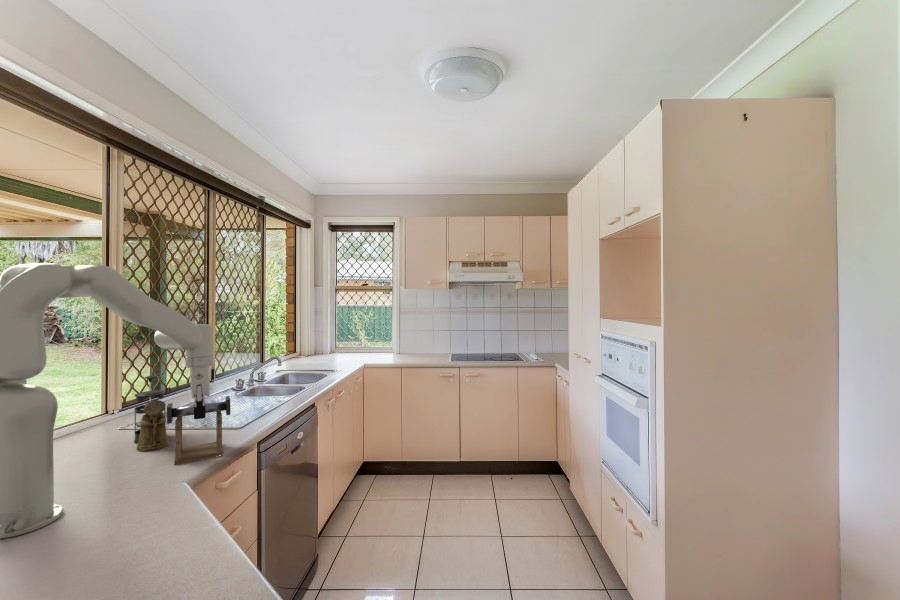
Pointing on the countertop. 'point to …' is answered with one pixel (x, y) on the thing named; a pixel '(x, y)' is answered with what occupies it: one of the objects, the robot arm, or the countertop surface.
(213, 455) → the hanging rack
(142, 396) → the french press
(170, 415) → the hanging bar
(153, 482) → the countertop surface
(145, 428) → the brown carved statue
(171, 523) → the countertop surface
